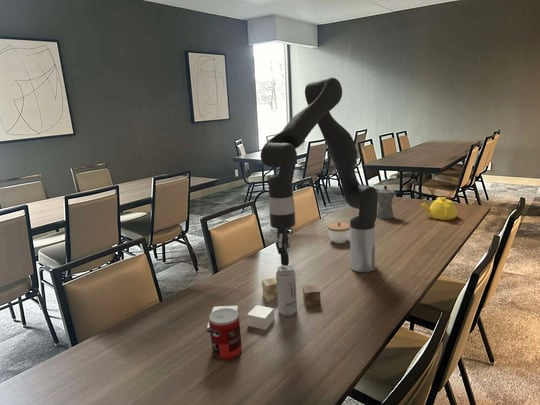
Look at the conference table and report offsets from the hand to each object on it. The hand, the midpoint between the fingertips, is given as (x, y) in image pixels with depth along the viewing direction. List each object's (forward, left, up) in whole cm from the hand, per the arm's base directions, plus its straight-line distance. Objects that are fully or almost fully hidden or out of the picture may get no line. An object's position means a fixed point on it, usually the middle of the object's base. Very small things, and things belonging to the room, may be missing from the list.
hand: (285, 264), depth 117 cm
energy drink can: (0, 0, -17) cm, 17 cm away
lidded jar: (-14, -66, -17) cm, 70 cm away
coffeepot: (-37, -107, -17) cm, 114 cm away
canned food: (+13, +22, -17) cm, 30 cm away
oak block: (+7, -9, -17) cm, 20 cm away
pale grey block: (+7, +7, -17) cm, 19 cm away
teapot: (-66, -106, -17) cm, 126 cm away
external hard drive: (+20, +6, -17) cm, 27 cm away
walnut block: (-7, -7, -17) cm, 19 cm away
